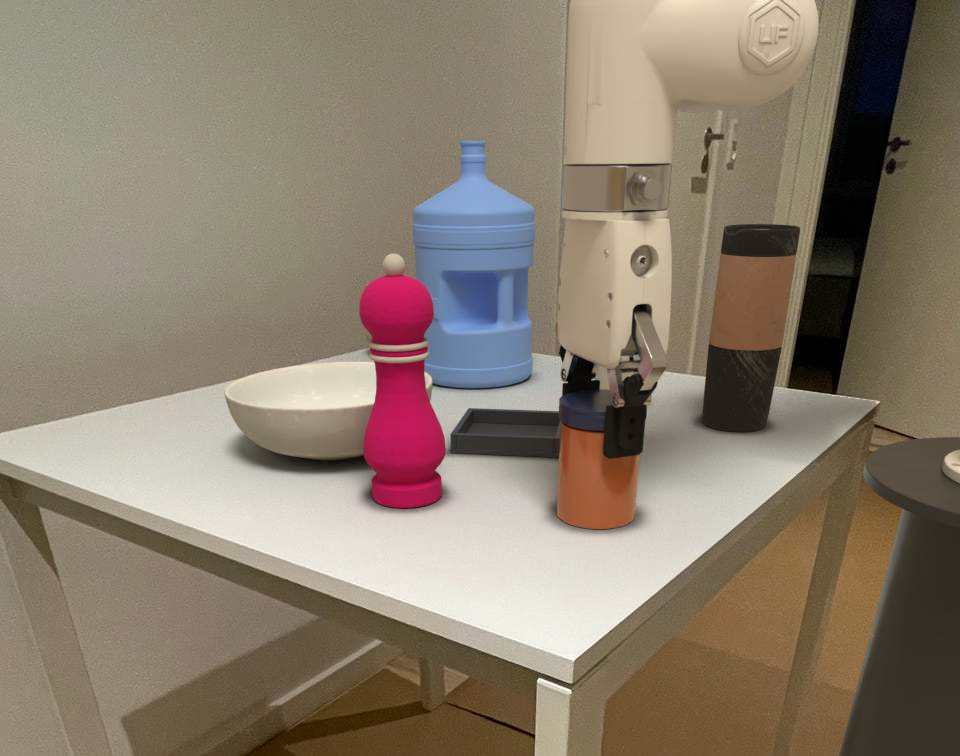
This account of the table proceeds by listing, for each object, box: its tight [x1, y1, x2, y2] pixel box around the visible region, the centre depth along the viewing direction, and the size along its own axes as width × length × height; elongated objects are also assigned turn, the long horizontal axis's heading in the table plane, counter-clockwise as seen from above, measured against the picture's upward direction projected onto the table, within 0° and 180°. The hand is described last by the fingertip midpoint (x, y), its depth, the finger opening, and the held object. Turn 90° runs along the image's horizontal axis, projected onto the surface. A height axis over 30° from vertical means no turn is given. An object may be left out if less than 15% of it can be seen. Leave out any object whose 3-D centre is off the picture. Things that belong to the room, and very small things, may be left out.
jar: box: [556, 421, 641, 530], centre depth 69 cm, size 7×7×9 cm
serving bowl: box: [223, 361, 434, 461], centre depth 87 cm, size 21×21×7 cm
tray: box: [450, 407, 560, 459], centre depth 90 cm, size 11×10×2 cm
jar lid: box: [558, 389, 648, 431], centre depth 67 cm, size 7×7×2 cm
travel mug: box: [701, 223, 801, 433], centre depth 90 cm, size 8×8×20 cm
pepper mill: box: [358, 253, 447, 509], centre depth 71 cm, size 7×7×20 cm
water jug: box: [412, 140, 536, 389], centre depth 109 cm, size 16×16×28 cm
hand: (599, 440), depth 68 cm, fingers closed on jar lid, 6 cm apart
